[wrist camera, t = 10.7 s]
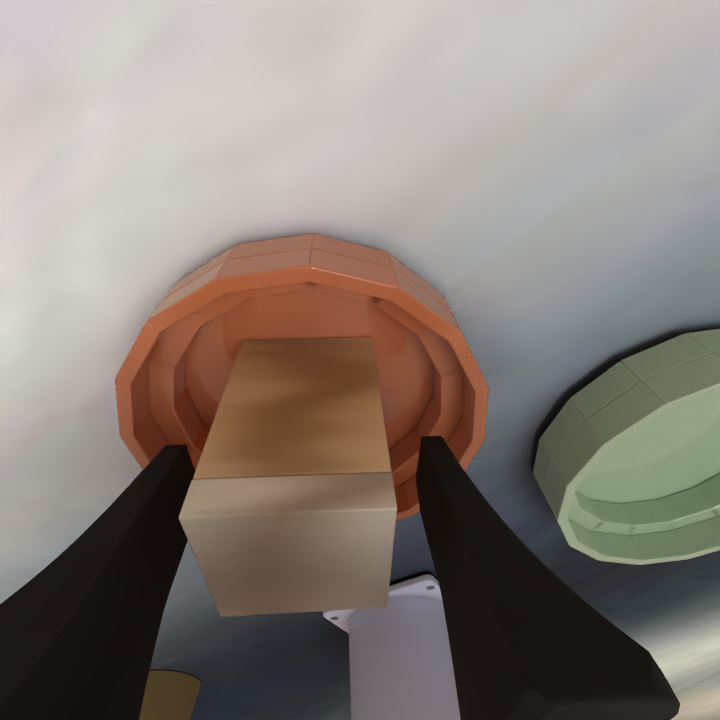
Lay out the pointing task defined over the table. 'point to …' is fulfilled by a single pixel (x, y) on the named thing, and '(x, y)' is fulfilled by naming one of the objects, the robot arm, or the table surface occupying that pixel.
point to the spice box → (295, 482)
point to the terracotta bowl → (297, 321)
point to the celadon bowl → (640, 456)
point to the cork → (169, 696)
